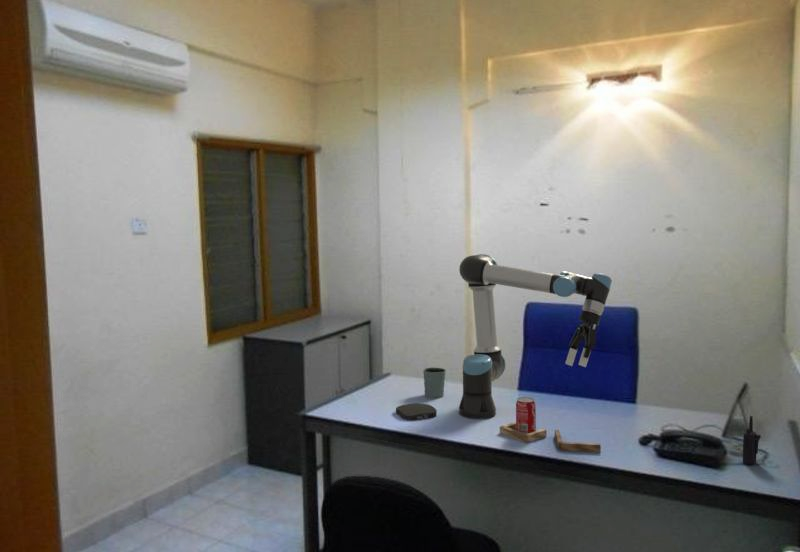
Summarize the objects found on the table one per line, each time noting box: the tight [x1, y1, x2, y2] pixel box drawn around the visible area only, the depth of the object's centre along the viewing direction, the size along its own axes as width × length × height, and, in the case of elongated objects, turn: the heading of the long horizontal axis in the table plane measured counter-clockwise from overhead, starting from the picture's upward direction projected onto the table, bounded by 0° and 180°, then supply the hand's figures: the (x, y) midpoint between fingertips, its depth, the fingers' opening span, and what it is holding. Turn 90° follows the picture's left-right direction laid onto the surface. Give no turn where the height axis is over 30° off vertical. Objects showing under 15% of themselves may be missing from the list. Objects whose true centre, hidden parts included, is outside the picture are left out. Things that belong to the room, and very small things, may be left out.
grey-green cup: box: [422, 367, 447, 399], centre depth 274 cm, size 10×10×12 cm
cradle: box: [554, 429, 602, 453], centre depth 208 cm, size 10×20×2 cm, turn 36°
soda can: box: [515, 396, 537, 434], centre depth 221 cm, size 7×7×13 cm
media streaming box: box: [395, 402, 438, 421], centre depth 247 cm, size 15×15×3 cm
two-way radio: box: [742, 415, 762, 465], centre depth 192 cm, size 6×4×15 cm
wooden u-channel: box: [499, 421, 547, 444], centre depth 221 cm, size 11×13×2 cm
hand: (575, 365), depth 229 cm, fingers open, 13 cm apart
